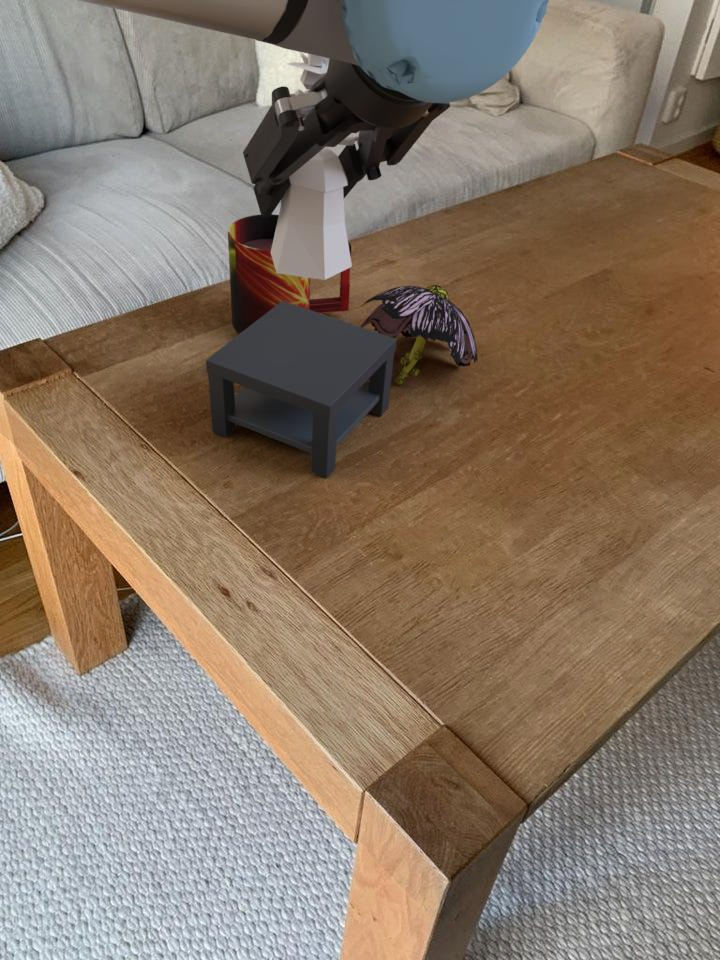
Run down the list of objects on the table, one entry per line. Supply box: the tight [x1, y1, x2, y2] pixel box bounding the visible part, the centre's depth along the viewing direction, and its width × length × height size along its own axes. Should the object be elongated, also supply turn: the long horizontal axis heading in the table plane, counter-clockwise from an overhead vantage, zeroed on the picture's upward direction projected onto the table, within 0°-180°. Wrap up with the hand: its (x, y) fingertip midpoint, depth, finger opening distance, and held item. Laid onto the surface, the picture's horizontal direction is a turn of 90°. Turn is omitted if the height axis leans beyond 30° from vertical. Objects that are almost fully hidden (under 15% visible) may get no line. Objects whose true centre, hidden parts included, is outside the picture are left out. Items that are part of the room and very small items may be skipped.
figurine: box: [271, 52, 359, 281], centre depth 68 cm, size 7×8×18 cm
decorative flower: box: [359, 284, 478, 387], centre depth 94 cm, size 15×12×15 cm
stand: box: [205, 301, 398, 479], centre depth 85 cm, size 14×14×9 cm
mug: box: [227, 213, 352, 335], centre depth 100 cm, size 10×14×12 cm
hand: (296, 197), depth 73 cm, fingers closed on figurine, 6 cm apart
